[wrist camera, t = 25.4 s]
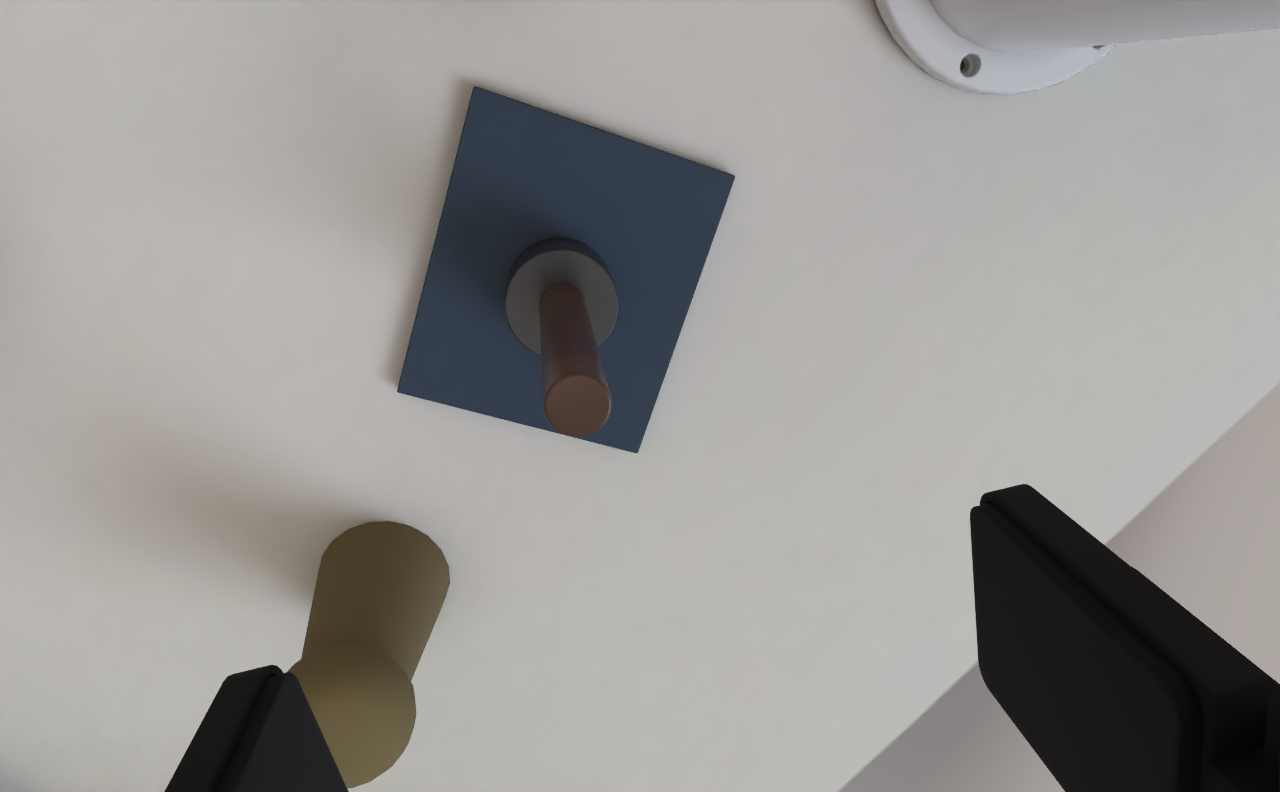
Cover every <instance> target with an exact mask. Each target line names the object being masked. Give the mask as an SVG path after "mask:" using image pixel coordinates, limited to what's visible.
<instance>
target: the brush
mask: <svg viewBox="0 0 1280 792" xmlns="http://www.w3.org/2000/svg"><path fill="white" fill-rule="evenodd" d="M505 313H506V318H507V321H508V324H509V327H510V329H511V331H512V332H513V334H514V335H515V337H516V338H517V339H518V341H519V342H520V343H521V344H522V345H523V346H525V347H526V348H527V349H528V350H530V351H531V352H533V353H535V354H537V355H539V356H541V365H542V387H543V409H544V414H545V417H546V419H547V421H548V422H549V424H550V425H551V426H552V427H553V428H554V429H555V430H557V431H558V432H560V433H562V434H565V435H568V436H574V437H580V436H586V435H589V434H592V433H594V432H595V431H597V430H599V429H600V428H601V427H602V426H603V425H604V424H605V423H606V421H607V420H608V418H609V415H610V413H611V408H612V400H611V395H610V391H609V388H608V384H607V380H606V377H605V373H604V369H603V366H602V362H601V358H600V355H599V351H598V347H599V346H600V345H601V344H602V343H603V342H604V341H605V340H606V339H607V337H608V336H609V335H610V333H611V331H612V329H613V327H614V325H615V323H616V319H617V315H618V295H617V291H616V287H615V285H614V282H613V280H612V278H611V276H610V273H609V271H608V269H607V267H606V265H605V263H604V262H603V260H602V259H601V257H600V256H599V255H598V254H597V253H596V252H595V251H594V250H593V249H592V248H590V247H589V246H587V245H586V244H584V243H582V242H579V241H577V240H574V239H570V238H563V237H554V238H548V239H544V240H541V241H538V242H536V243H534V244H532V245H531V246H529V247H528V248H526V249H525V250H524V251H523V252H522V253H521V254H520V255H519V256H518V257H517V259H516V260H515V262H514V263H513V265H512V267H511V270H510V272H509V275H508V280H507V287H506V296H505Z"/></svg>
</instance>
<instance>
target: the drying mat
mask: <svg viewBox="0 0 1280 792" xmlns="http://www.w3.org/2000/svg"><path fill="white" fill-rule="evenodd" d="M734 179H735V176H734V175H731V174H728V173H725V172H723V171H720V170H717V169H714V168H711V167H708V166H705V165H702V164H699V163H696V162H694V161H691V160H688V159H685V158H682V157H679V156H676V155H673V154H670V153H667V152H665V151H662V150H659V149H656V148H653V147H650V146H647V145H644V144H641V143H638V142H636V141H633V140H630V139H627V138H624V137H621V136H618V135H615V134H612V133H609V132H607V131H604V130H601V129H598V128H595V127H592V126H589V125H586V124H583V123H580V122H578V121H575V120H572V119H569V118H566V117H563V116H560V115H557V114H554V113H551V112H549V111H546V110H543V109H540V108H537V107H534V106H531V105H528V104H525V103H522V102H520V101H517V100H514V99H511V98H508V97H505V96H502V95H499V94H496V93H493V92H491V91H488V90H485V89H482V88H479V87H476V86H475V87H473V91H472V95H471V99H470V103H469V107H468V111H467V115H466V119H465V123H464V127H463V131H462V135H461V139H460V143H459V147H458V151H457V155H456V159H455V163H454V167H453V171H452V175H451V179H450V183H449V187H448V191H447V195H446V198H445V202H444V206H443V210H442V214H441V218H440V222H439V226H438V230H437V234H436V238H435V242H434V246H433V250H432V254H431V258H430V262H429V266H428V270H427V274H426V278H425V282H424V286H423V290H422V294H421V298H420V302H419V306H418V310H417V314H416V318H415V322H414V326H413V330H412V334H411V338H410V342H409V346H408V350H407V354H406V358H405V362H404V366H403V370H402V374H401V378H400V382H399V386H398V390H397V392H399V393H402V394H406V395H410V396H414V397H418V398H422V399H426V400H430V401H434V402H438V403H442V404H446V405H449V406H453V407H457V408H461V409H465V410H469V411H473V412H477V413H481V414H485V415H489V416H493V417H497V418H500V419H504V420H508V421H512V422H516V423H520V424H524V425H528V426H532V427H536V428H540V429H544V430H548V431H551V432H555V433H559V434H562V433H560V432H558V431H557V430H555V429H554V428H553V427H552V426H551V425H550V424H549V422H548V421H547V419H546V417H545V414H544V409H543V387H542V365H541V356H539V355H537V354H535V353H533V352H531V351H530V350H528V349H527V348H526V347H525V346H523V345H522V344H521V343H520V342H519V341H518V339H517V338H516V337H515V335H514V334H513V332H512V331H511V329H510V327H509V324H508V321H507V318H506V313H505V296H506V287H507V280H508V275H509V272H510V270H511V267H512V265H513V263H514V262H515V260H516V259H517V257H518V256H519V255H520V254H521V253H522V252H523V251H524V250H525V249H526V248H528V247H529V246H531V245H532V244H534V243H536V242H538V241H541V240H544V239H548V238H554V237H563V238H570V239H574V240H577V241H579V242H582V243H584V244H586V245H587V246H589V247H590V248H592V249H593V250H594V251H595V252H596V253H597V254H598V255H599V256H600V257H601V259H602V260H603V262H604V263H605V265H606V267H607V269H608V271H609V273H610V276H611V278H612V280H613V282H614V285H615V287H616V291H617V295H618V315H617V319H616V323H615V325H614V327H613V329H612V331H611V333H610V335H609V336H608V337H607V339H606V340H605V341H604V342H603V343H602V344H601V345H600V346H599V347H598V351H599V355H600V358H601V362H602V366H603V369H604V373H605V377H606V380H607V384H608V388H609V391H610V395H611V400H612V408H611V413H610V415H609V418H608V420H607V421H606V423H605V424H604V425H603V426H602V427H601V428H600V429H599V430H597V431H595V432H594V433H592V434H589V435H586V436H580V437H575V438H579V439H583V440H587V441H591V442H595V443H599V444H602V445H606V446H610V447H614V448H618V449H622V450H626V451H630V452H634V453H638V450H639V448H640V445H641V442H642V439H643V436H644V433H645V431H646V428H647V425H648V422H649V419H650V416H651V414H652V411H653V408H654V405H655V402H656V400H657V397H658V394H659V391H660V388H661V385H662V383H663V380H664V377H665V374H666V371H667V368H668V366H669V363H670V360H671V357H672V354H673V351H674V349H675V346H676V343H677V340H678V337H679V334H680V332H681V329H682V326H683V323H684V320H685V317H686V315H687V312H688V309H689V306H690V303H691V300H692V298H693V295H694V292H695V289H696V286H697V284H698V281H699V278H700V275H701V272H702V269H703V267H704V264H705V261H706V258H707V255H708V252H709V250H710V247H711V244H712V241H713V238H714V235H715V233H716V230H717V227H718V224H719V221H720V218H721V216H722V213H723V210H724V207H725V204H726V201H727V199H728V196H729V193H730V190H731V187H732V184H733V182H734ZM563 435H565V434H563ZM567 436H568V435H567ZM571 437H574V436H571Z"/></svg>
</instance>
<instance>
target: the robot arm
mask: <svg viewBox="0 0 1280 792" xmlns="http://www.w3.org/2000/svg"><path fill="white" fill-rule="evenodd" d="M875 1H876V4H877V7H878V10H879V13H880V15H881V16H882V18H883V20H884V22H885V24H886V26H887V28H888V29H889V31H890V33H891V35H892V37H893V39H894V40H895V41H896V42H897V43H898V45H899V46H900V47H901V48H902V49H903V51H904V52H905V53H906V54H907V55H908V57H909V58H910V59H911V60H912V61H913V62H915V63H916V64H917V65H918V66H920V67H921V68H922V69H924V70H925V71H926V72H927V73H929V74H930V75H931V76H933V77H934V78H937V79H939V80H941V81H943V82H945V83H947V84H949V85H952V86H954V87H956V88H959V89H964V90H968V91H973V92H978V93H983V94H1012V93H1021V92H1029V91H1036V90H1039V89H1042V88H1045V87H1048V86H1051V85H1054V84H1057V83H1060V82H1063V81H1064V80H1066V79H1068V78H1070V77H1072V76H1073V75H1075V74H1077V73H1079V72H1081V71H1082V70H1084V69H1086V68H1088V67H1089V66H1091V65H1092V64H1093V63H1095V62H1096V61H1097V60H1098V59H1100V58H1101V57H1102V56H1104V55H1105V54H1106V53H1107V52H1109V51H1110V50H1111V49H1112V48H1113V47H1114V46H1115V45H1116V44H1119V43H1129V42H1140V41H1150V40H1161V39H1172V38H1182V37H1193V36H1203V35H1214V34H1225V33H1235V32H1246V31H1257V30H1267V29H1278V28H1280V0H875ZM961 61H963V62H964V69H963V70H962V72H961V70H960V63H961ZM970 525H971V542H972V559H973V576H974V594H975V611H976V628H977V645H978V661H979V667H980V671H981V674H982V677H983V679H984V682H985V684H986V686H987V687H988V689H989V690H990V692H991V693H992V694H993V696H994V697H995V698H996V700H997V701H998V703H999V704H1000V705H1001V707H1002V708H1003V709H1004V711H1006V713H1007V715H1008V716H1009V717H1010V718H1011V720H1012V721H1013V723H1014V724H1015V725H1016V727H1017V728H1018V729H1019V731H1020V732H1021V733H1022V735H1023V736H1024V737H1025V738H1026V740H1027V741H1028V742H1029V744H1030V745H1031V746H1032V748H1033V749H1034V750H1035V752H1036V753H1037V754H1038V755H1039V757H1040V758H1041V760H1042V761H1043V762H1044V764H1045V765H1046V766H1047V768H1048V769H1049V770H1050V772H1051V773H1052V774H1053V776H1054V777H1055V778H1056V780H1057V781H1058V782H1059V784H1060V785H1061V786H1062V788H1063V789H1064V790H1065V792H1280V684H1278V683H1277V682H1276V681H1275V680H1273V679H1272V678H1271V677H1270V676H1269V675H1267V674H1266V673H1265V672H1263V671H1262V670H1261V669H1260V668H1258V667H1257V666H1256V665H1255V664H1253V663H1252V662H1251V661H1250V660H1249V659H1247V658H1246V657H1245V656H1243V655H1242V654H1241V653H1240V652H1239V651H1237V650H1236V649H1235V648H1234V647H1232V646H1231V645H1230V644H1229V643H1227V642H1226V641H1225V640H1224V639H1222V638H1221V637H1220V636H1219V635H1217V634H1216V633H1215V632H1213V631H1212V630H1211V629H1210V628H1209V627H1207V626H1206V625H1205V624H1204V623H1203V622H1201V621H1200V620H1199V619H1197V618H1196V617H1195V616H1194V615H1192V614H1191V613H1190V612H1189V611H1188V610H1186V609H1185V608H1184V607H1182V606H1181V605H1180V604H1179V603H1177V602H1176V601H1175V600H1174V599H1173V598H1171V597H1170V596H1169V595H1168V594H1166V593H1165V592H1164V591H1163V590H1161V589H1160V588H1159V587H1158V586H1156V585H1155V584H1154V583H1153V582H1151V581H1150V580H1149V579H1147V578H1146V577H1145V576H1144V575H1143V574H1141V573H1140V572H1139V571H1138V570H1136V569H1134V568H1133V567H1131V566H1129V565H1128V564H1127V563H1126V562H1124V561H1123V560H1122V559H1121V558H1119V557H1118V556H1117V555H1116V554H1115V553H1113V552H1112V551H1111V550H1110V549H1108V548H1107V547H1106V546H1105V545H1103V544H1102V543H1101V542H1100V541H1098V540H1097V539H1096V538H1095V537H1093V536H1092V535H1091V534H1090V533H1088V532H1087V531H1086V530H1085V529H1083V528H1082V527H1081V526H1080V525H1078V524H1077V523H1076V522H1075V521H1074V520H1072V519H1071V518H1070V517H1069V516H1067V515H1066V514H1065V513H1064V512H1062V511H1061V510H1060V509H1059V508H1057V507H1056V506H1055V505H1054V504H1052V503H1051V502H1050V501H1049V500H1047V499H1046V498H1045V497H1044V496H1042V495H1041V494H1040V493H1039V492H1037V491H1036V490H1035V489H1034V488H1033V487H1031V486H1029V485H1027V484H1021V485H1017V486H1013V487H1009V488H1005V489H1001V490H997V491H992V492H988V493H985V494H984V495H983V496H982V498H981V500H980V506H976V507H973V508H972V509H971V512H970ZM165 792H348V789H347V787H346V785H345V783H344V781H343V778H342V776H341V774H340V772H339V769H338V767H337V765H336V763H335V761H334V758H333V756H332V754H331V752H330V749H329V747H328V745H327V743H326V741H325V738H324V736H323V734H322V732H321V730H320V727H319V725H318V723H317V721H316V718H315V716H314V714H313V712H312V710H311V707H310V705H309V703H308V701H307V698H306V696H305V694H304V692H303V690H302V687H301V685H300V683H299V681H298V679H297V677H296V676H295V675H294V674H293V673H291V672H287V673H283V672H282V670H281V669H280V668H279V667H278V666H275V665H269V666H265V667H261V668H257V669H253V670H248V671H244V672H240V673H236V674H232V675H230V676H228V677H227V678H226V679H225V681H224V682H223V683H222V685H221V687H220V689H219V691H218V693H217V695H216V697H215V698H214V700H213V702H212V704H211V706H210V708H209V710H208V712H207V713H206V715H205V717H204V719H203V721H202V723H201V725H200V726H199V728H198V730H197V732H196V734H195V736H194V738H193V740H192V741H191V743H190V745H189V747H188V749H187V751H186V753H185V755H184V756H183V758H182V760H181V762H180V764H179V766H178V768H177V769H176V771H175V773H174V775H173V777H172V779H171V781H170V783H169V784H168V786H167V788H166V790H165Z"/></svg>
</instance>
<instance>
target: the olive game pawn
mask: <svg viewBox="0 0 1280 792" xmlns="http://www.w3.org/2000/svg"><path fill="white" fill-rule="evenodd" d="M449 584H450V580H449V566H448V564H447V562H446V560H445V557H444V555H443V553H442V551H441V549H440V548H439V547H438V546H437V545H436V544H435V543H434V542H433V541H432V540H431V539H430V538H429V537H428V536H427V535H425V534H423V533H421V532H419V531H418V530H416V529H414V528H412V527H410V526H406V525H402V524H397V523H393V522H372V523H366V524H363V525H360V526H357V527H354V528H351V529H349V530H347V531H346V532H344V533H343V534H342V535H340V536H339V537H337V538H336V539H335V540H333V541H332V543H331V544H330V546H329V547H328V548H327V550H326V551H325V553H324V554H323V556H322V560H321V564H320V568H319V571H318V576H317V581H316V586H315V592H314V597H313V602H312V607H311V612H310V617H309V622H308V627H307V632H306V637H305V643H304V648H303V653H302V658H301V660H300V661H298V662H297V663H295V664H294V665H293V666H292V667H291V668H290V670H289V671H288V672H291V673H293V674H294V675H295V676H296V677H297V679H298V681H299V683H300V685H301V687H302V690H303V692H304V694H305V696H306V698H307V701H308V703H309V705H310V707H311V710H312V712H313V714H314V716H315V718H316V721H317V723H318V725H319V727H320V730H321V732H322V734H323V736H324V738H325V741H326V743H327V745H328V747H329V749H330V752H331V754H332V756H333V758H334V761H335V763H336V765H337V767H338V769H339V772H340V774H341V776H342V778H343V781H344V783H345V785H346V787H347V788H353V787H356V786H359V785H362V784H365V783H368V782H370V781H372V780H373V779H375V778H376V777H378V776H379V775H381V774H382V773H383V772H385V771H386V770H388V769H389V768H390V767H392V766H393V764H394V763H395V762H396V761H397V759H398V758H399V757H400V756H401V754H402V753H403V752H404V750H405V748H406V746H407V745H408V743H409V740H410V737H411V734H412V731H413V728H414V724H415V718H416V705H415V695H414V690H413V685H412V683H411V680H412V677H413V675H414V672H415V670H416V668H417V665H418V663H419V660H420V658H421V656H422V653H423V651H424V648H425V646H426V643H427V641H428V639H429V636H430V634H431V631H432V629H433V627H434V624H435V622H436V619H437V617H438V614H439V612H440V610H441V607H442V605H443V602H444V600H445V597H446V594H447V590H448V587H449Z"/></svg>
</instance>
